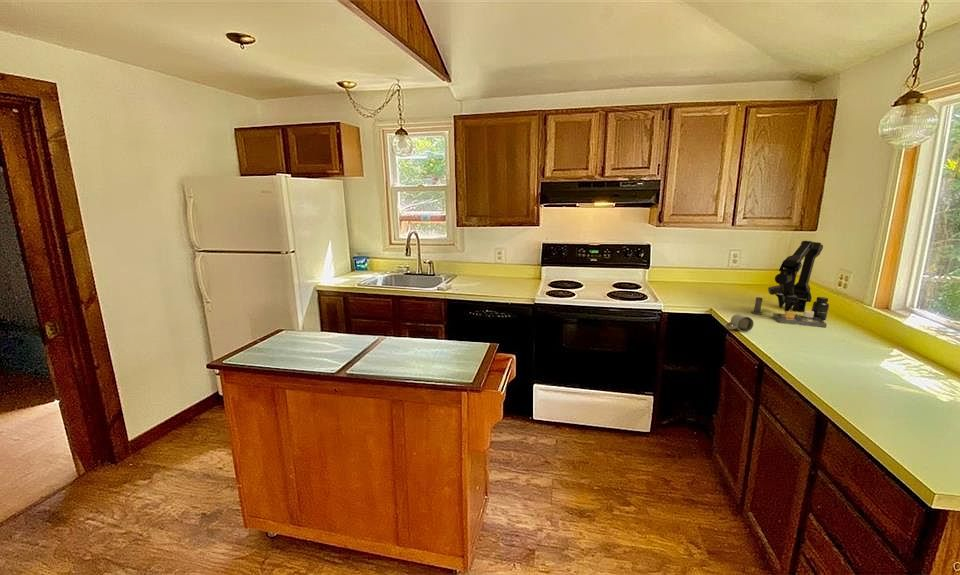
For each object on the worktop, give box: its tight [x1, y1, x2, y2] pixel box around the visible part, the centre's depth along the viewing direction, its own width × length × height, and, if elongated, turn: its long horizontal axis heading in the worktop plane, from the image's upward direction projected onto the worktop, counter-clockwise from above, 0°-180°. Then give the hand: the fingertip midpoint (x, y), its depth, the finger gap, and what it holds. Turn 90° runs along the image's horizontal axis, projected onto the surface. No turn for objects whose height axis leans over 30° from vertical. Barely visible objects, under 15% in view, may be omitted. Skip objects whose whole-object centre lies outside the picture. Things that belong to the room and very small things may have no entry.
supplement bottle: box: [811, 296, 830, 322], centre depth 227 cm, size 7×7×12 cm
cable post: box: [750, 296, 764, 316], centre depth 236 cm, size 5×5×9 cm
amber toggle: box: [784, 310, 796, 318], centre depth 222 cm, size 2×4×3 cm, turn 71°
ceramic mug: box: [725, 313, 755, 333], centre depth 209 cm, size 11×8×8 cm
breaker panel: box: [772, 312, 827, 328], centre depth 223 cm, size 12×20×3 cm, turn 71°
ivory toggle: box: [803, 310, 814, 318], centre depth 223 cm, size 2×4×3 cm, turn 71°
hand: (783, 309), depth 232 cm, fingers open, 9 cm apart
